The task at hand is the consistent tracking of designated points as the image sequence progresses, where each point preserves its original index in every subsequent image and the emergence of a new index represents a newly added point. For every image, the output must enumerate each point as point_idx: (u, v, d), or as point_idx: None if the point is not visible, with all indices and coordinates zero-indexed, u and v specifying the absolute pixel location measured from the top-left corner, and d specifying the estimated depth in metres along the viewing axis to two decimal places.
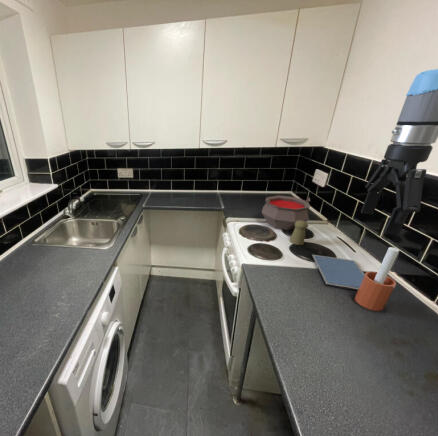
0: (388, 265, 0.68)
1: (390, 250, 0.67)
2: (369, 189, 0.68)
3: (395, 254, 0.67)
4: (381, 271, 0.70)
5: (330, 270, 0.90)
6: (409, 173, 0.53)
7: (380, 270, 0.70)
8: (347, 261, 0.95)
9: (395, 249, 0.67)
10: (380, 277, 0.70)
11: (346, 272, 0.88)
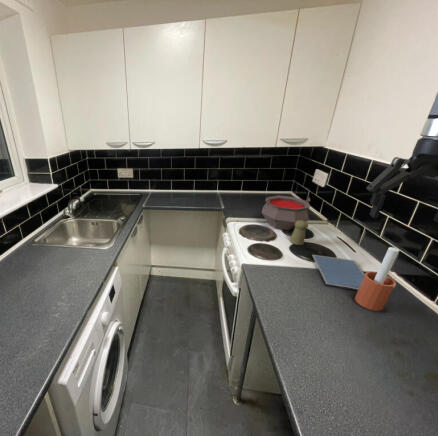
0: (388, 265, 0.68)
1: (390, 250, 0.67)
2: (382, 192, 0.62)
3: (395, 254, 0.67)
4: (381, 271, 0.70)
5: (330, 270, 0.90)
6: None
7: (380, 270, 0.70)
8: (347, 261, 0.95)
9: (395, 249, 0.67)
10: (380, 277, 0.70)
11: (346, 272, 0.88)
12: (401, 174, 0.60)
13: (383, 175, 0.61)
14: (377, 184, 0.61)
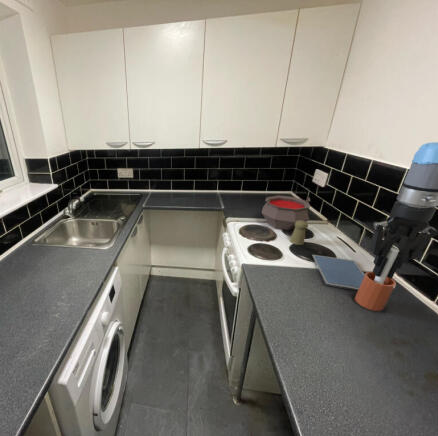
0: (388, 265, 0.68)
1: (390, 250, 0.67)
2: (384, 255, 0.67)
3: (395, 254, 0.67)
4: None
5: (330, 270, 0.90)
6: (433, 233, 0.61)
7: None
8: (347, 261, 0.95)
9: (395, 249, 0.67)
10: (380, 277, 0.70)
11: (346, 272, 0.88)
12: (388, 235, 0.66)
13: (375, 239, 0.67)
14: (375, 248, 0.67)
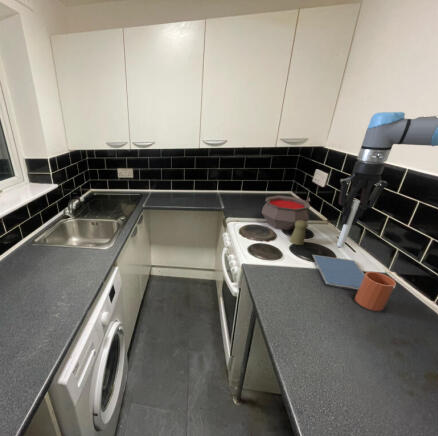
0: (352, 214, 0.86)
1: (353, 201, 0.84)
2: (349, 205, 0.85)
3: (357, 204, 0.84)
4: None
5: (330, 270, 0.90)
6: (384, 185, 0.79)
7: None
8: (347, 261, 0.95)
9: (357, 200, 0.84)
10: (346, 225, 0.88)
11: (346, 272, 0.88)
12: (351, 189, 0.84)
13: (341, 193, 0.85)
14: (342, 200, 0.85)
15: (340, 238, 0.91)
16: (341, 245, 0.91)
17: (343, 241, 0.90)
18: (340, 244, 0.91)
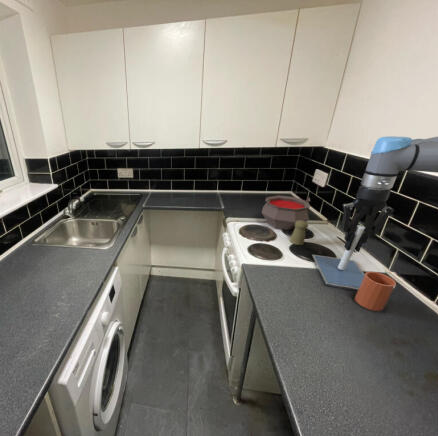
0: (355, 240, 0.81)
1: (357, 227, 0.80)
2: (352, 231, 0.80)
3: (361, 231, 0.79)
4: None
5: (330, 270, 0.90)
6: (390, 212, 0.74)
7: None
8: None
9: (362, 226, 0.79)
10: (349, 250, 0.84)
11: (346, 272, 0.88)
12: (355, 215, 0.80)
13: (344, 218, 0.80)
14: (345, 225, 0.81)
15: (342, 261, 0.88)
16: (343, 268, 0.88)
17: (345, 264, 0.87)
18: (342, 267, 0.88)
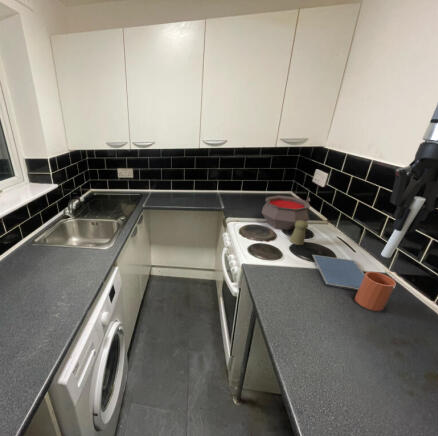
0: (411, 216, 0.62)
1: (415, 200, 0.60)
2: (407, 205, 0.61)
3: (420, 204, 0.60)
4: None
5: (330, 270, 0.90)
6: None
7: None
8: (347, 261, 0.95)
9: (421, 198, 0.60)
10: None
11: (346, 272, 0.88)
12: (412, 183, 0.60)
13: (396, 188, 0.61)
14: (397, 197, 0.61)
15: (388, 246, 0.68)
16: (388, 255, 0.69)
17: (392, 250, 0.68)
18: (387, 254, 0.69)
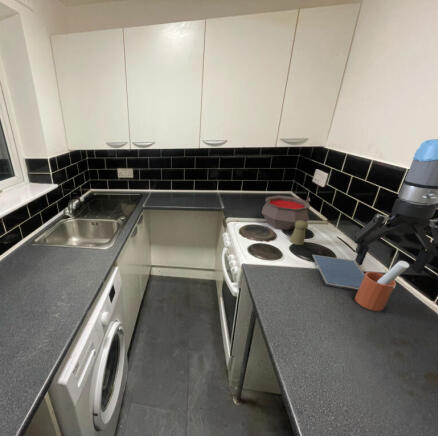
0: (393, 276, 0.66)
1: (399, 265, 0.63)
2: (366, 244, 0.68)
3: (403, 269, 0.63)
4: (384, 279, 0.68)
5: (330, 270, 0.90)
6: None
7: (383, 278, 0.68)
8: (347, 261, 0.95)
9: (405, 264, 0.63)
10: None
11: (346, 272, 0.88)
12: (382, 228, 0.66)
13: (366, 229, 0.67)
14: (361, 236, 0.68)
15: None
16: None
17: None
18: None
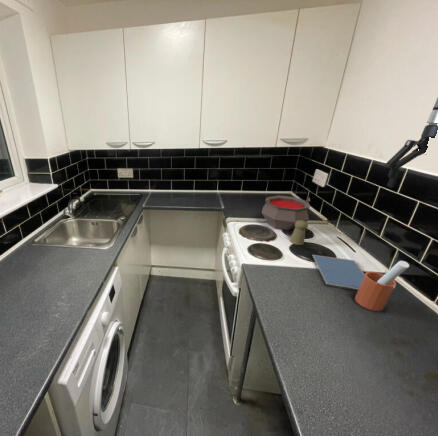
0: (393, 276, 0.66)
1: (399, 265, 0.63)
2: (398, 167, 0.81)
3: (403, 269, 0.63)
4: (384, 279, 0.68)
5: (330, 270, 0.90)
6: None
7: (383, 278, 0.68)
8: (347, 261, 0.95)
9: (405, 264, 0.63)
10: None
11: (346, 272, 0.88)
12: (412, 153, 0.79)
13: (399, 154, 0.80)
14: (394, 161, 0.81)
15: None
16: None
17: None
18: None
